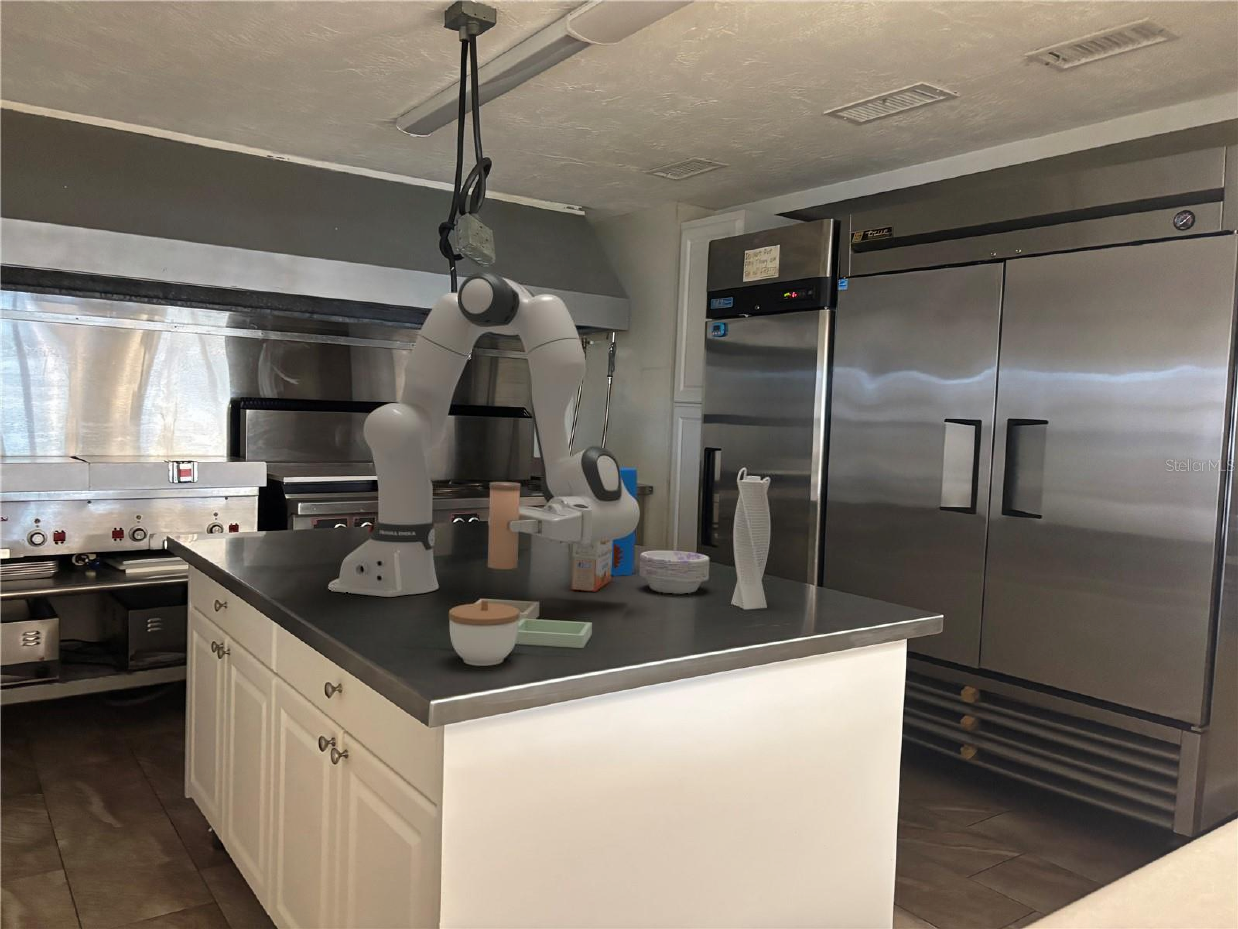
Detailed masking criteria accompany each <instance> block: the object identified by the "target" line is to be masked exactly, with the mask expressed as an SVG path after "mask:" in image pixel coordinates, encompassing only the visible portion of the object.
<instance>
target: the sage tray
mask: <svg viewBox="0 0 1238 929" xmlns="http://www.w3.org/2000/svg"><path fill="white" fill-rule="evenodd" d="M592 628H593V622H588V621H585V622H584V621H571V620H570V621H569V620H553V619H552V620H551V619H537V618H536V619H521V620H520V621H519V627H518V635H517V639H516V643H515V645H525V646H539V647H541V646H542V647H557V648H571V649H573V648H574V649H584V648H585V646H586V644H587V643H588V641H589V639H590V638H591V636H592V633H593V629H592Z"/></svg>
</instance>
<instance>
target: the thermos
mask: <svg viewBox="0 0 1238 929" xmlns="http://www.w3.org/2000/svg"><path fill="white" fill-rule="evenodd" d="M620 473H621V479H622V481H623V484H624V486H625V488H626V490H627V491H628V493H629V494H630V495H631V496H632V497H633V498H634V499H635V500H636V501H637V496H638V495H637V494H638V471H637V468H632V467H620ZM636 528H637V527H636ZM636 528H635V529H634V531H633V532H632V533H630V534H629V535H628V536H626V537H623V538H620V539H615V540H613V544H612V565H611V575H613V576H612V577H621V576H620V575H627V576H631V575H633V574H634V569H635V558H636V557H635V556H636V555H635V554H636V552H635V551H636ZM632 573H633V574H632ZM617 575H619V576H617Z"/></svg>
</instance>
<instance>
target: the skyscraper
mask: <svg viewBox="0 0 1238 929" xmlns="http://www.w3.org/2000/svg"><path fill="white" fill-rule="evenodd" d="M743 471H744V472H743ZM747 471H748V470H747V468H746V467H742V468H741V469H740V470H739V471H738V475H737V478H736V483H737V488H738V492H739V495H738V497H737V498H738V500H737V502H736V507H735V514H734V520H733V529H732V531H733V534H732V535H733V537H732V538H733V540H732V542H733V556H734V564H735V565H734V566H735V572H736V578H737V581H736V584H735V588H734V592H733V595H732V600H731V605H734V606H736V607H738V606H739V607H738V608H741V609H743V610H754V609H767V608H768V606H767V601H766V596H765V590H764V586H763V582H762V580H763V577H764V572H765V569H766V566H767V565H766V564H767V559H768V554H769V551H770V550H769V549H770V542H771V513H770V506H769V499H768V490H769V486H770V483H771V478H770V477H769V476H766V477H765V478H763V479H762V480H761V476H756V475H755V476H753V475H748V476H747ZM742 472H743V478H742V480H740V479H741V475H742Z"/></svg>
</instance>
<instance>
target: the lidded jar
mask: <svg viewBox="0 0 1238 929" xmlns="http://www.w3.org/2000/svg"><path fill="white" fill-rule="evenodd" d="M483 599H484V600H481V603H479V604H474V603H468V604H462V605H458V606H455V607H452V608H451V609H449V610H448V611H449V612H448V619H449V635H450V641H451V645H452V647H453V649H454V650H455V652H456V654H458V656H459V657H460V658H462V659H463V663H465V664H467V665H471V666H478V667H485V666H486V667H487V666H488V667H489V666H495V665H499V664H501V663H503V662H504V659H505V658H506V657H508V656H509V654H511V652H512V651H513V649H514V647H515V646H516V644H515V643H516V639H517V635H518V627H519V617H520V611H519V610H518V609H517V608H515V607H512V606H508V605H503V604H491V603H488V600H486V599H487V598H483Z"/></svg>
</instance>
